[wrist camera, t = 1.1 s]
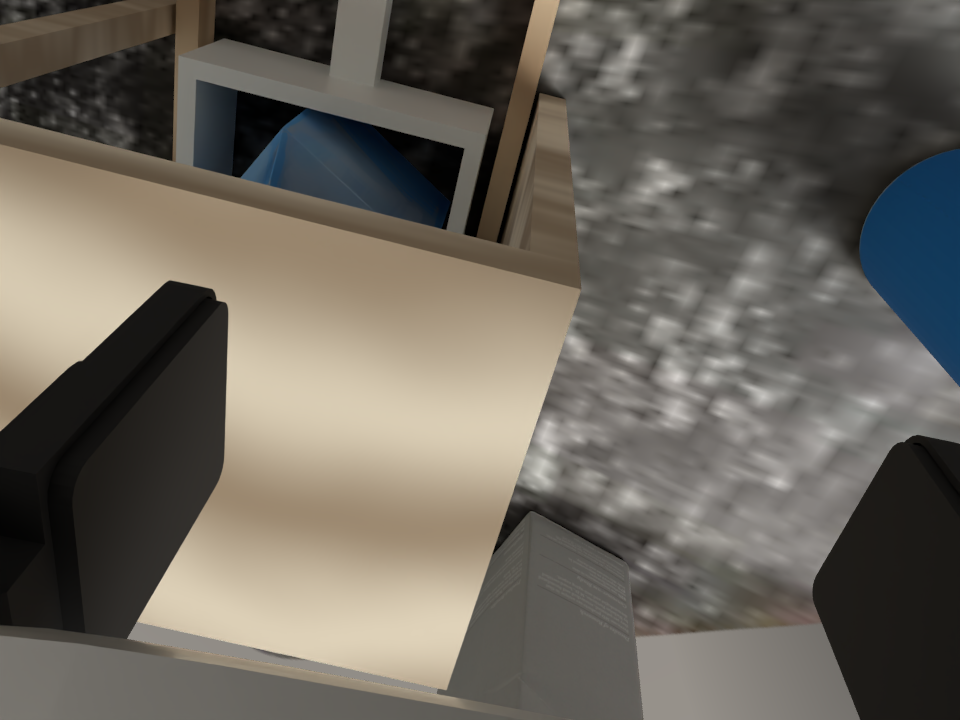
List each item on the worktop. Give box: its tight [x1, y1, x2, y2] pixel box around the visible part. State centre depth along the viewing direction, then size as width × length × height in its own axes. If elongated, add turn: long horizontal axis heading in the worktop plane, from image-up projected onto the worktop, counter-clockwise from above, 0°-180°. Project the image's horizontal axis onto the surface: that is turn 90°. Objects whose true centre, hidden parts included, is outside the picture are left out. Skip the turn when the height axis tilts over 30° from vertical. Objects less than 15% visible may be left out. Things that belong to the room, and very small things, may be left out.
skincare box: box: [437, 511, 643, 720], centre depth 34 cm, size 8×7×16 cm
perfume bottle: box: [241, 108, 450, 229], centre depth 26 cm, size 6×6×12 cm
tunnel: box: [0, 0, 581, 690], centre depth 24 cm, size 12×15×17 cm
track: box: [173, 0, 560, 243], centre depth 27 cm, size 28×13×2 cm, turn 167°
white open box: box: [176, 0, 494, 235], centre depth 26 cm, size 18×10×7 cm, turn 167°
